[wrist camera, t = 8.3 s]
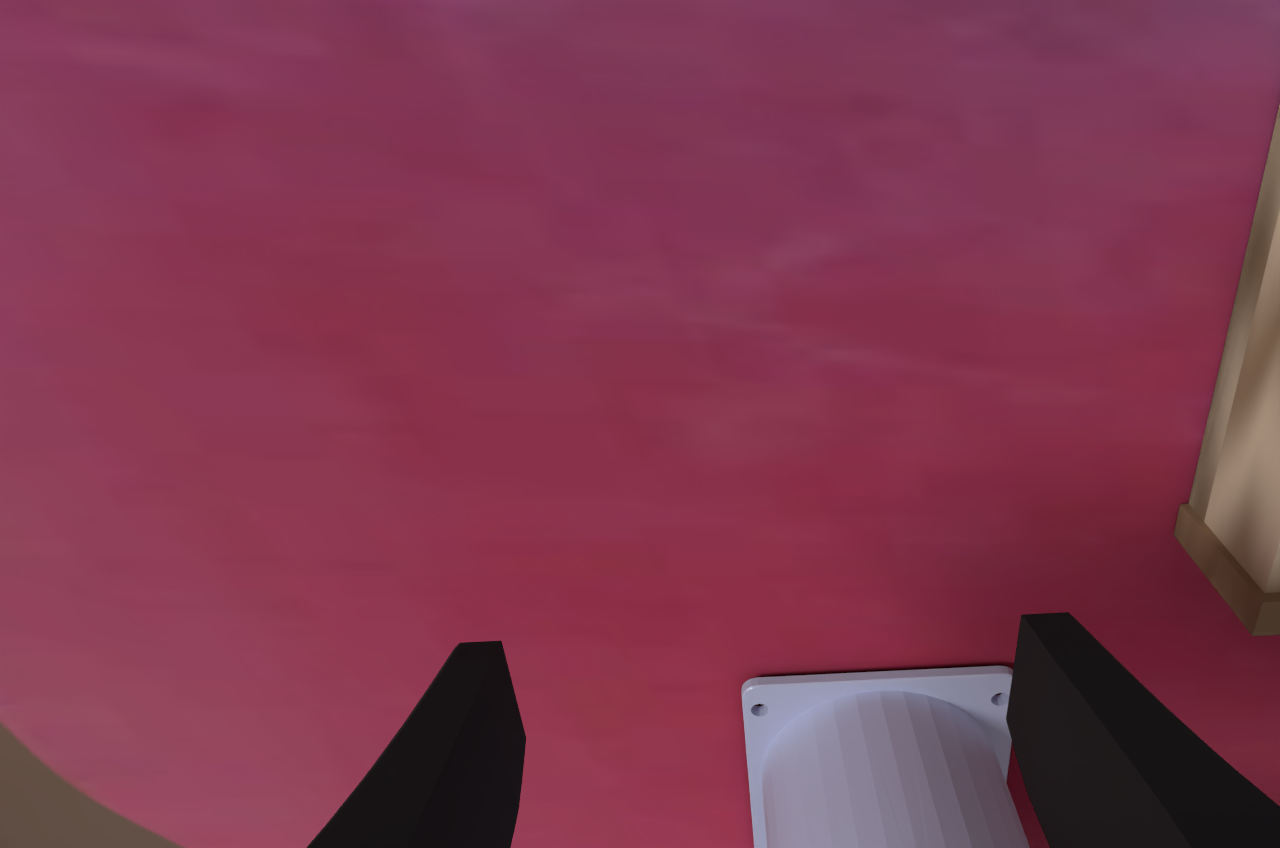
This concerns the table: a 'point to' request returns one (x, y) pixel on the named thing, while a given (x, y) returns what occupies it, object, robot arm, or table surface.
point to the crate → (1245, 436)
